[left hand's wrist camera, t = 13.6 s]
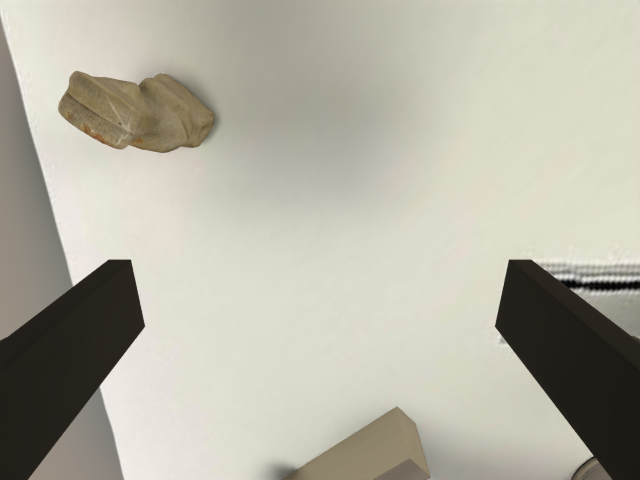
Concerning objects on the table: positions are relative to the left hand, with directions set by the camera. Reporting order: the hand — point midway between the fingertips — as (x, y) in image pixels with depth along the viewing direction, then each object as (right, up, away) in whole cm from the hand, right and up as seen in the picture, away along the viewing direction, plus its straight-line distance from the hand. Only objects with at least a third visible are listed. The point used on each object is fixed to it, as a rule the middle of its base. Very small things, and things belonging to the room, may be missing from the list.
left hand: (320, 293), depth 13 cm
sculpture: (-14, +15, +25) cm, 33 cm away
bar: (+4, -32, +44) cm, 55 cm away
